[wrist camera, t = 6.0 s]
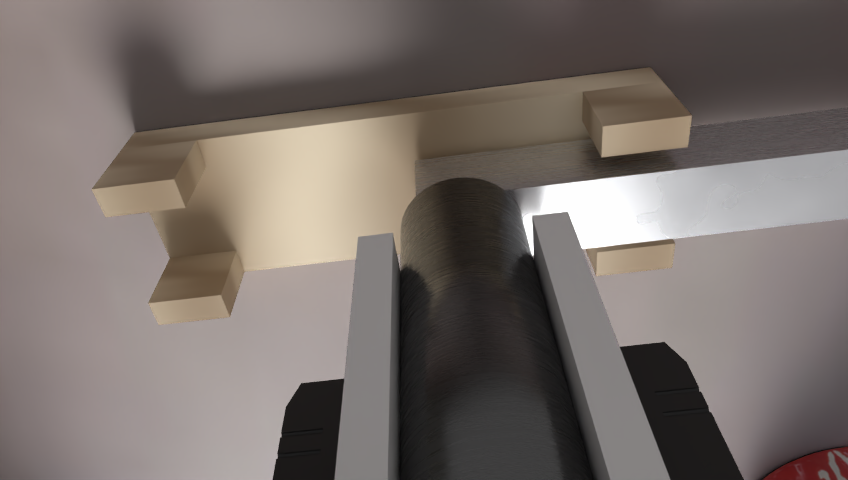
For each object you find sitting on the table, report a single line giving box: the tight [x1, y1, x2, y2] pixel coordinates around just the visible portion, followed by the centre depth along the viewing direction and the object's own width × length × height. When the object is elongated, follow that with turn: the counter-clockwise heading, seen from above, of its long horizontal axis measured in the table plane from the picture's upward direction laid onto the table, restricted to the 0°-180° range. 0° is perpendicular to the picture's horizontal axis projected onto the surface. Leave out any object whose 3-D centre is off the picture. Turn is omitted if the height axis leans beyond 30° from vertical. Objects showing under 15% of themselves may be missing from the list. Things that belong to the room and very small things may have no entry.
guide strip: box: [92, 67, 692, 325], centre depth 17 cm, size 14×4×3 cm, turn 97°
